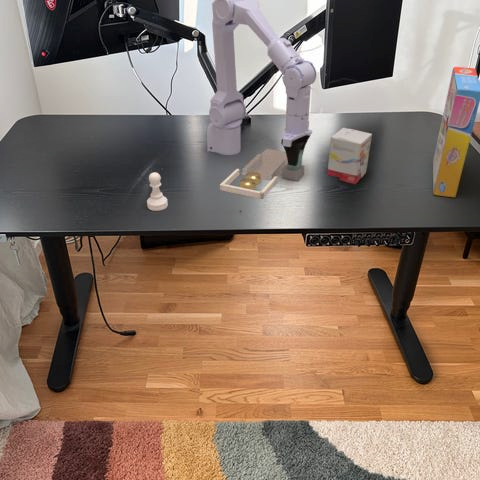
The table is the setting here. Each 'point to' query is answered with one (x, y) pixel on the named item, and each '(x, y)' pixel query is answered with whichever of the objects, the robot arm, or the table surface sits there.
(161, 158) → the table surface
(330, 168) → the ink box
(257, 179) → the gold knob
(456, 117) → the game box
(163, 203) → the chess pawn
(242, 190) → the tray
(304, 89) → the robot arm
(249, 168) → the slotted rail
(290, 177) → the teal and gray box
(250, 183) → the gold round piece
